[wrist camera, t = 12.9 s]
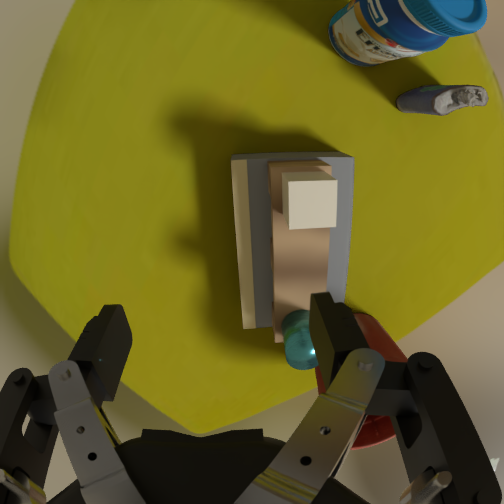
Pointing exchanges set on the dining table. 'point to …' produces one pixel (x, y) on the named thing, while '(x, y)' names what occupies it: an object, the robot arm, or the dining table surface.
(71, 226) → the dining table surface
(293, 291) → the pallet
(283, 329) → the teal canister
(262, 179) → the dock
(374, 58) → the beverage bottle
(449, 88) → the flask
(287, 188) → the white cube
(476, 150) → the dining table surface
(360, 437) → the flower pot
